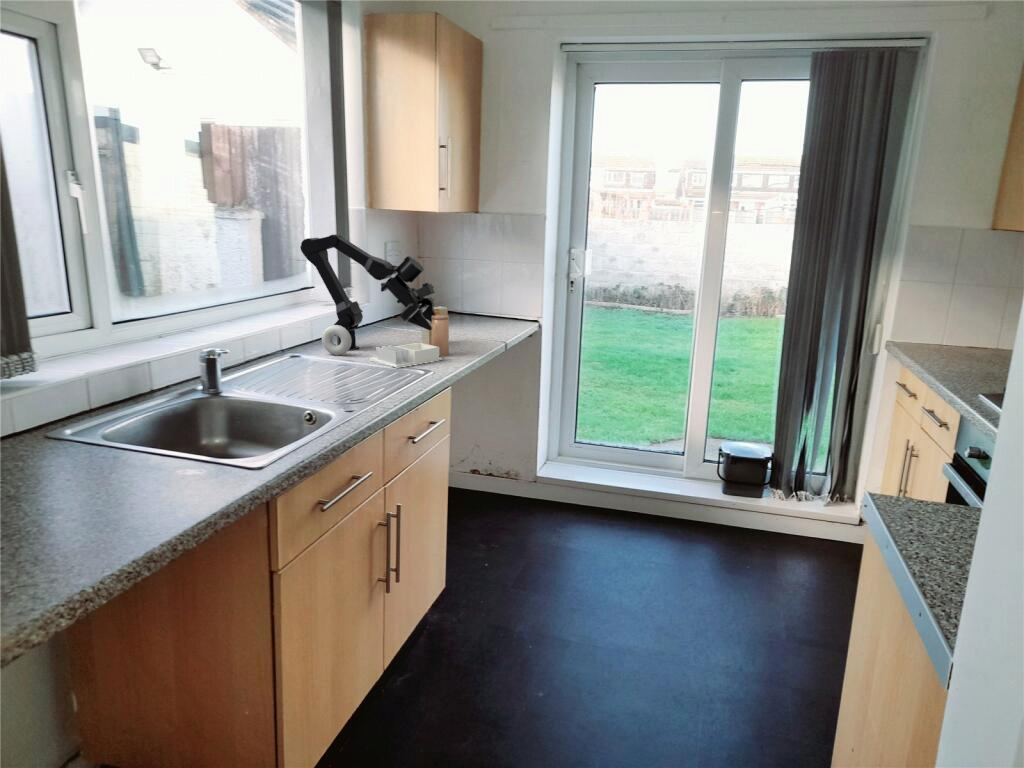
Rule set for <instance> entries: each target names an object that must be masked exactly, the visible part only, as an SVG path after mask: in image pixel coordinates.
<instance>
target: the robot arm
mask: <svg viewBox="0 0 1024 768" xmlns="http://www.w3.org/2000/svg"><path fill="white" fill-rule="evenodd" d="M299 248H300V251H301V252H302V255H303V256H304V257H305V258H306V260H307V261H308V262H310V263H311V264H312V265H313V266H314V267H315V269H316V270H317V273H318V275H319V276H320V278H321V279H322V282H323V284H324V285H325V288H326V289H327V291H328V293H329V295H330V297H331V299H332V301H333V302H334V304H335V310H336V311H335V312H336V316H337V319H338V320H337V321H335V323H334V324H333V325H339V326H342V327H344V328H345V329H346V330H347V331H348V332H349V334H350V336H351V340H352V342H351V347H350V349H349V350H348V351H350V350H351V349H352V350H356V349H357V350H358V349H360V346H357V341H356V330H357V329H358V328H359V325H360V324H361V323H362V322H363V319H364V318H363V317H364V316H363V310H362V309H361V307H360V305H359V303H358V301H357V300H356V301H352V300H350V298H349V297H348V295H347V293H346V291H345V289H344V288H343V285H342V283H341V282H340V279H339V278H338V276H337V274H336V273H335V270H334V268H333V267H332V265H331V263H330V260H329V254H328V253H329V252H328V250H330V249H333V248H334V249H336V251H339V252H340V253H342V254H344V255H345V256H347V257H348V258H350V259H351V260H352V261H354V262H356V263H358V264H359V265H361V267H363V268H364V269H365V272H367V273H368V274H369V275H370V276H371V277H372V278H374V280H377V281H382V280H386V279H387V280H386V281H385V282H382V283H380V292H382V293H383V292H386V291H389V292H390V293H391V294H392V296H393V297H394V298H396V299H397V300H396V302H397V304H401V305H402V306H403V307H404V309H403V310H402V311H400V318H401V320H403V321H404V322H408V323H411V324H413V325H415V326H419V327H421V328H422V327H423V328H425V329H427V330H431V329H432V327H431V325H430V324H429V323H428V321H427V320H429V321H430V322H432V319H431V316H432V315H436V314H435V311H434V307H435V299H434V298H432V297H431V296H430V295H433V294H435V293H436V292H435V290H434V289H435V287H434V285H432V283H429V282H425V283H422V287H420V288H418V289H416V288H415V287H410V285H408V284H407V283H413V282H414V281H415V280H416V279H417V278H418V277H419V276H420V275H421V274H422V273H423V271H424V270H425V269H424V267H423V266H422V264H421V263H420V262H419V261H417V260H416V259H414V258H412V257H411V256H410V255H408V256H406V257H405V258H404V260H403V261H402V262H401V263H400V264H399V266H398V265H393V264H392V263H390V261H388V260H385V259H383V258H381V257H378V256H377V257H376V256H373V255H371V254H369V253H367V252H366V251H364V249H361V248H360V247H358V246H357V245H355V244H354V243H352V242H350V241H349V240H347V239H346V238H344V237H343V236H342V235H341V234H339V233H337V234H331V235H328V236H326V237H311V238H304V239H303V240H302V241H301V244H300V247H299ZM395 274H396V275H395ZM393 275H395V276H394V277H392V276H393ZM426 319H427V320H426ZM336 339H337V341H336V343H337V344H336V345H340V343H341V339H340V337H339V336H337V335H336Z"/></svg>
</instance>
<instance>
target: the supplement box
mask: <svg viewBox="0 0 1024 768" xmlns="http://www.w3.org/2000/svg"><path fill="white" fill-rule="evenodd" d="M434 311H435V314H436V315H448V311H449V310H448V307H446V306H434ZM448 316H449V315H448ZM426 320H427V319H426ZM427 321H428V323H429V324H430V325H431V327H432V322H430V321H429V320H427ZM421 343H424V344H429V345H432V329H431V330H427V329H425V328H423V327H421Z"/></svg>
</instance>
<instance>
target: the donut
mask: <svg viewBox="0 0 1024 768" xmlns="http://www.w3.org/2000/svg"><path fill="white" fill-rule="evenodd" d="M334 336H336V337H337V336H339V337H340V339H341V343H340V345H337V344H335V343H334V341H333V338H334ZM351 342H352V340H351V336H350V334H349V332H348V331H347V330H346V329H345V328H344V327H342V326H339V325H334V324H333V325H329V326H328V327H326V328H325V330H324V331H323V333H322V335H321V344H322V346H323V348H324V349H325V350H326V351H327V353H329V354H331V355H333V354H334V356H342V355H345V354H347V352H348V351H350V350H349V349H350V347H351Z"/></svg>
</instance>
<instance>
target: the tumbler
mask: <svg viewBox="0 0 1024 768" xmlns="http://www.w3.org/2000/svg"><path fill="white" fill-rule="evenodd" d="M431 319H432V345H433V346H437V347H439V356H443V357H448V356H449V355H450V353H449V352H450V346H449V345H450V340H449V339H450V331H449V330H450V326H449V325H450V323H449V322H450V315H432V316H431Z"/></svg>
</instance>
